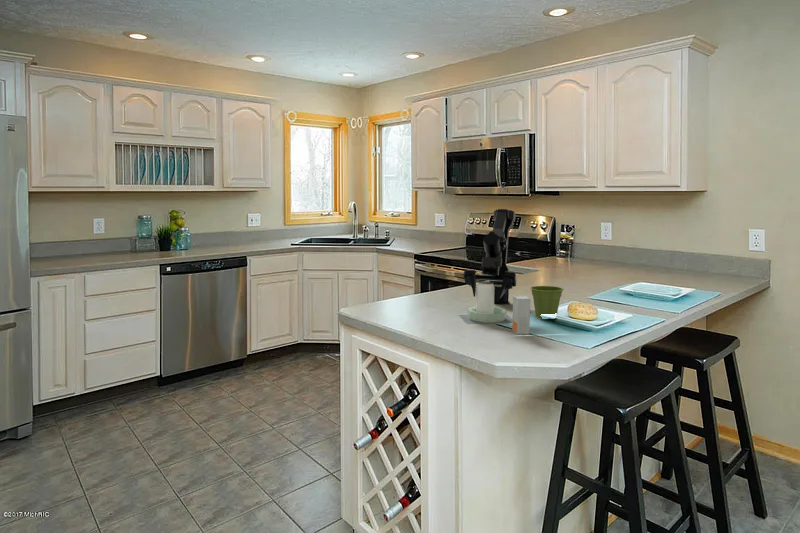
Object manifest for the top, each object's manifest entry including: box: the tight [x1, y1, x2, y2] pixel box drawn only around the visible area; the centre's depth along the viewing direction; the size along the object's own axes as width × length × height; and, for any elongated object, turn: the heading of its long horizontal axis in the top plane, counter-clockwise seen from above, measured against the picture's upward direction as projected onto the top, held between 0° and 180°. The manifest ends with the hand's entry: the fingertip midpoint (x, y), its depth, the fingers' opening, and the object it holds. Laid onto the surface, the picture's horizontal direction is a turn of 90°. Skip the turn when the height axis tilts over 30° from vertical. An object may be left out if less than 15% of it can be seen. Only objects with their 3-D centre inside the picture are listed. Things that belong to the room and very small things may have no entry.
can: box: [475, 280, 495, 313], centre depth 200 cm, size 6×6×12 cm
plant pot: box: [529, 285, 565, 320], centre depth 201 cm, size 12×12×11 cm
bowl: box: [467, 306, 507, 324], centre depth 199 cm, size 13×13×3 cm
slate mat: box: [458, 314, 513, 325], centre depth 199 cm, size 18×14×1 cm
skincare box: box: [511, 294, 532, 336], centre depth 181 cm, size 6×4×12 cm
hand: (486, 296), depth 197 cm, fingers open, 9 cm apart
